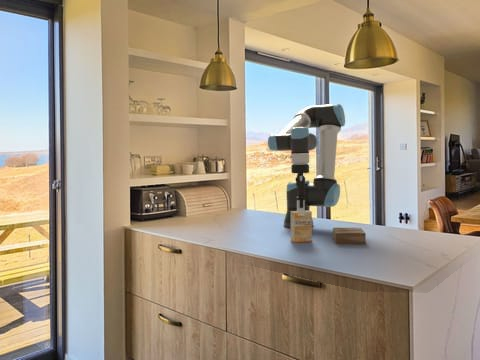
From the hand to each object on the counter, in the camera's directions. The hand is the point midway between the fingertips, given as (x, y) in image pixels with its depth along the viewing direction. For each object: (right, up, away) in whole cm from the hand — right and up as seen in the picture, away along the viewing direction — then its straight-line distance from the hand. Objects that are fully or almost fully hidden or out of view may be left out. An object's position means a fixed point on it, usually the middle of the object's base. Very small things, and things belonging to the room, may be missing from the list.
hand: (300, 213), depth 174 cm
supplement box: (+1, -12, +1) cm, 12 cm away
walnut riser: (+20, -12, -1) cm, 24 cm away
